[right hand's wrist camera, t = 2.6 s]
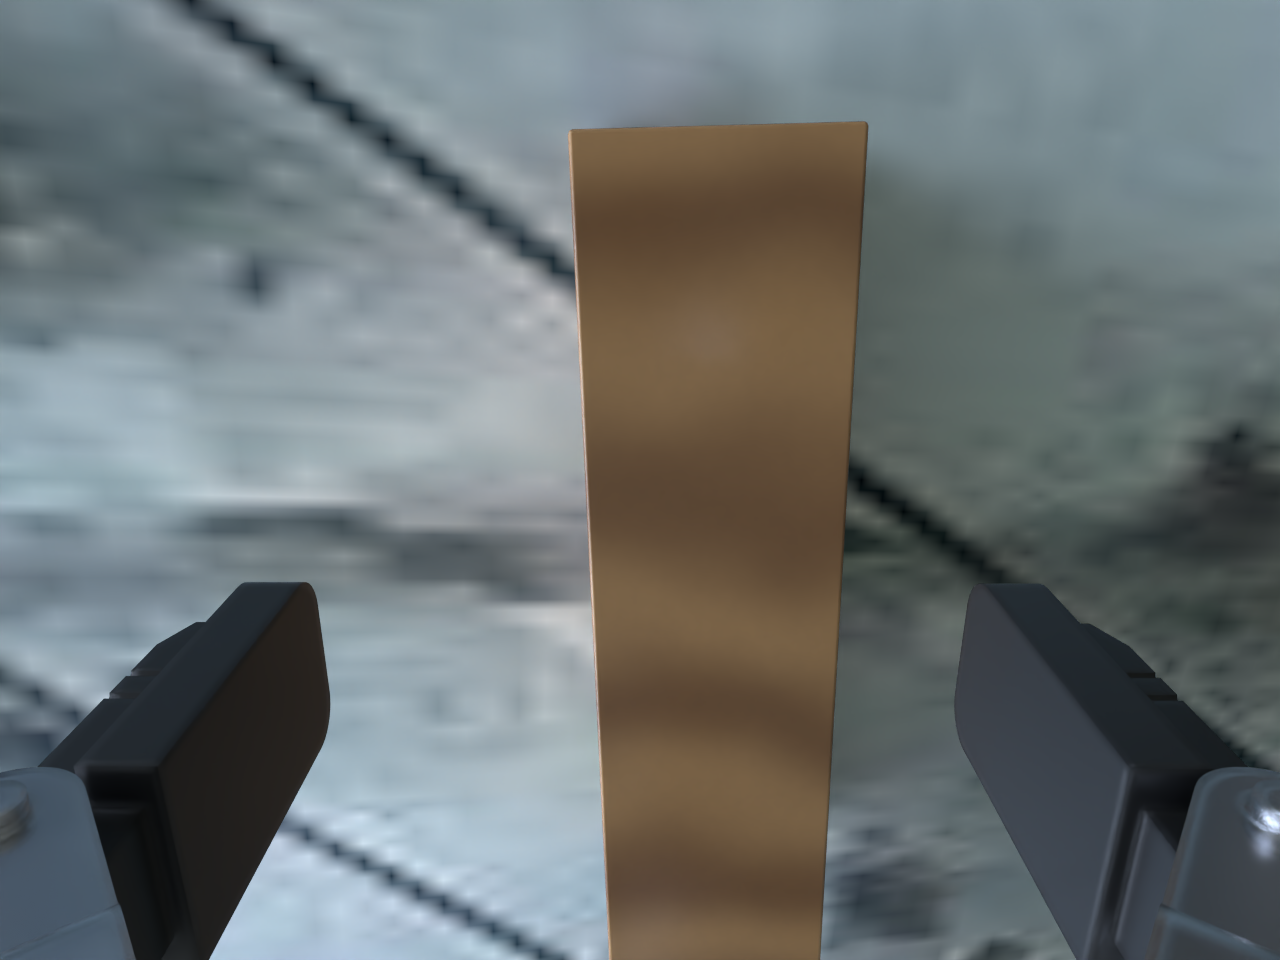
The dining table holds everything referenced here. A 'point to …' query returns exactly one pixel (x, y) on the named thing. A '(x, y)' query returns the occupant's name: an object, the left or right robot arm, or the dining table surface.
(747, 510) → the box
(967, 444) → the dining table surface
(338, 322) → the dining table surface
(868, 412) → the dining table surface
